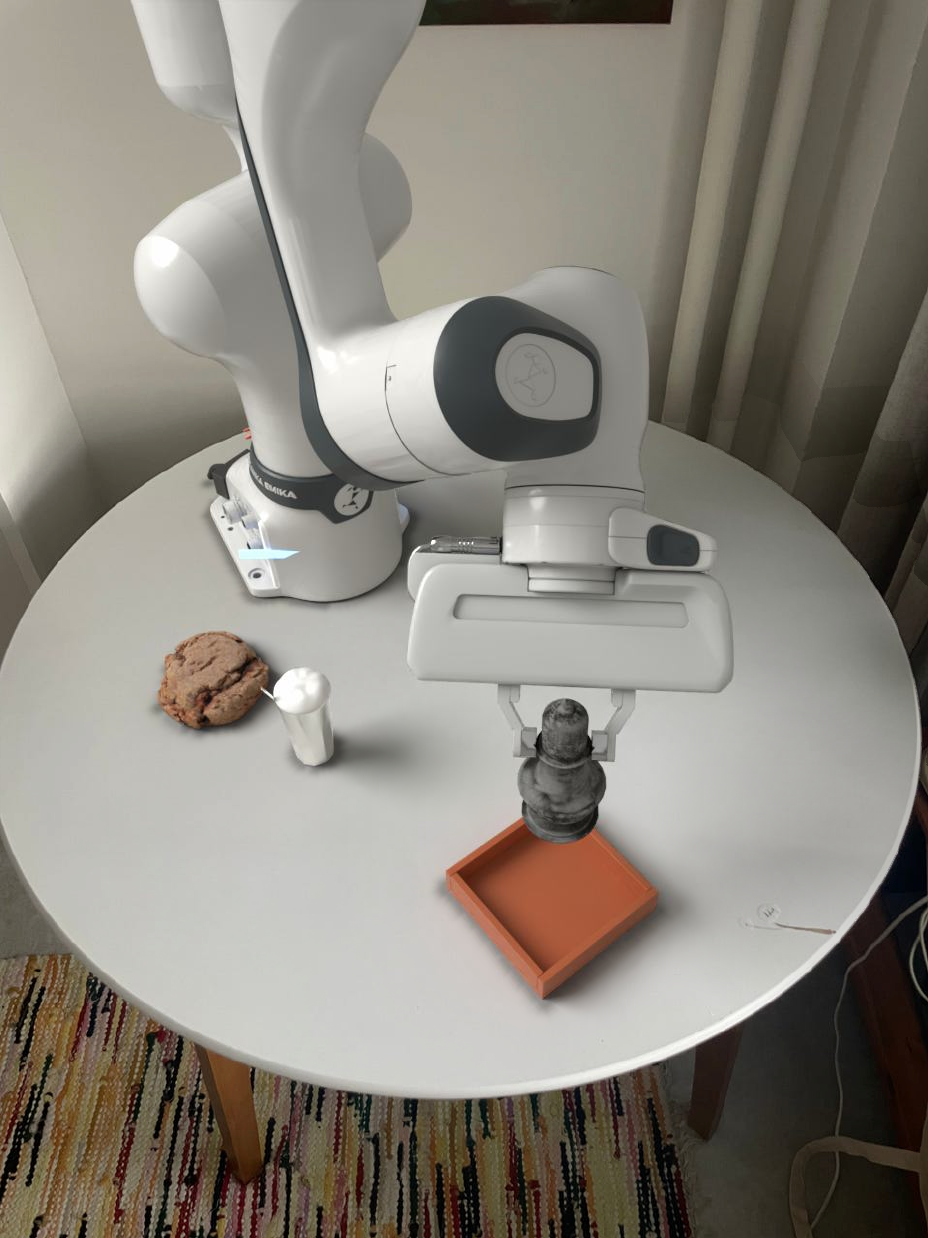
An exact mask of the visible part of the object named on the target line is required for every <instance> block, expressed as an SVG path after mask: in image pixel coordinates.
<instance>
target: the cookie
mask: <svg viewBox="0 0 928 1238" xmlns="http://www.w3.org/2000/svg"><path fill="white" fill-rule="evenodd" d="M174 651H175V652H174V653H173V654H172V653H167V654H166V655H165V656H164V667H165V670H166V672H165V673H164V676H163V677H162V679H161V682H160V688H159V690H158V692H157V702H158V705H159V706H160V707H161V708H162V711H163V712H165V713H166V714H167V715H168V716H169V717H170V718H171V719H173V720H174V721H175V722H177V723H180V724H183V725H184V726H185V725H188V727H192V729H194V730H197V729H201V728H202V727H203V726H204V727H205V726H210V727H211V725H212V726H216V727H217V726H221V725H226V724H230V723H232V722H236V721H238V719H240V718H243V715H244V714H245V713H247V712H248V711H249V710H250V709H251V708H252V707H253V706H254V705H255V704H256V703H257V702H258V700H259V699H260V697H261V696H264V695H265V692H263V691H262V690H261V687H263V688H264V689H265V690H266V691H267V685H268V683H269V671H270V669H269V665H268V664H266V663H264V662H263V661H262V658H261V657H259V656H258V657H257V654H256V652H255V651H254V649H253V648H252V647H251V646H249V645H248V644H247V643H246V642H245V641H244V640H243V639H242V638H241V637H239V636H238V635H236V634H233V633H231V632H227V631H225V630H224V631H222V630H221V631H215V630H212V631H207V632H199V633H197V634H195V635H193V636H191V637H189V638H187V639H185V640H183V641H180V642H179V643H178V645H176V646H175V647H174ZM260 686H261V687H260Z"/></svg>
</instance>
